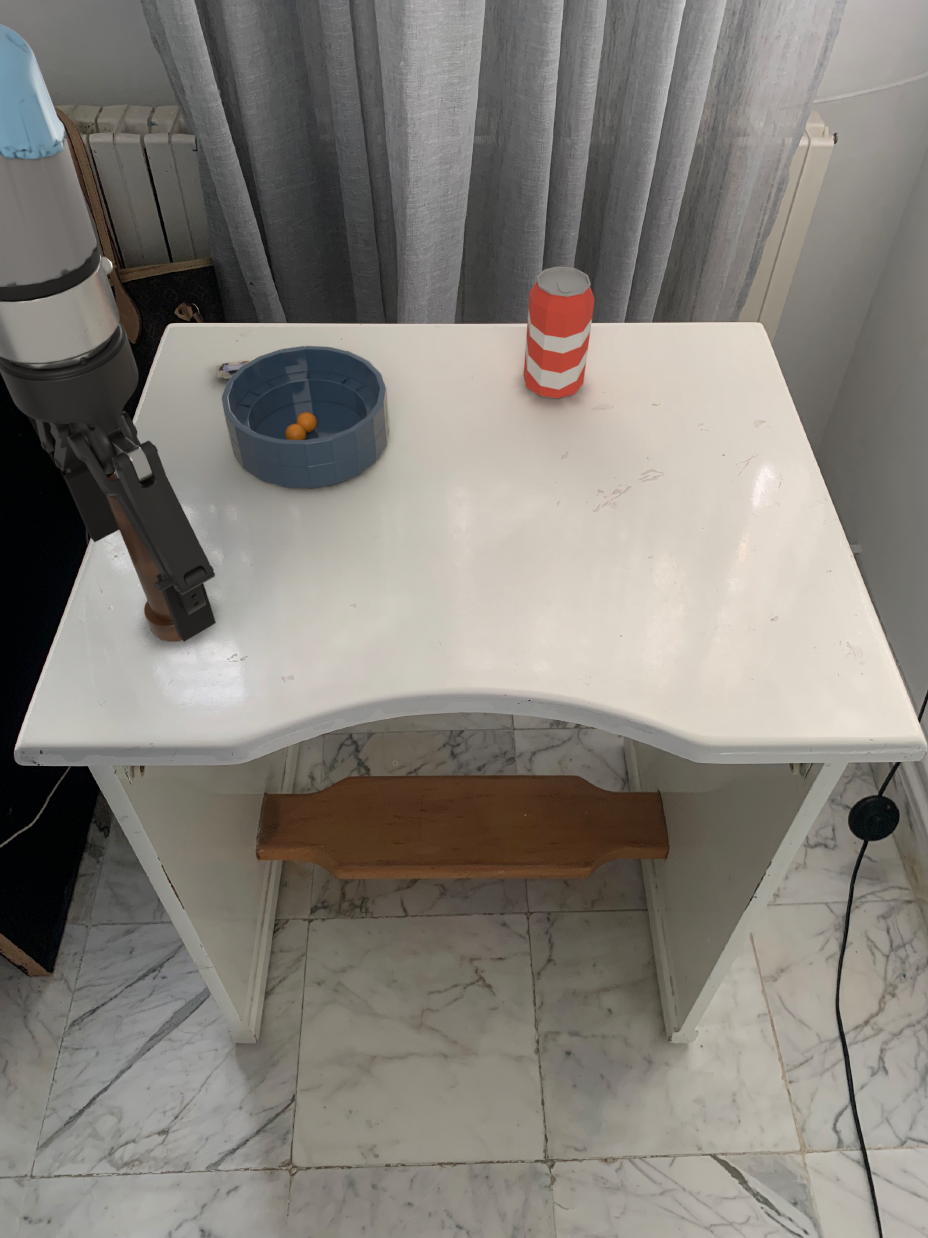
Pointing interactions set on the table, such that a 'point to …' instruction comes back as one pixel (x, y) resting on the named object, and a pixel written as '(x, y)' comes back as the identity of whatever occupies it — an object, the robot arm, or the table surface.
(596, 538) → the table surface
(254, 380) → the bowl
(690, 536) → the table surface
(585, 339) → the beverage can
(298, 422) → the bead
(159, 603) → the brown cylinder
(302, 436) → the bead
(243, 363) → the granola bar
